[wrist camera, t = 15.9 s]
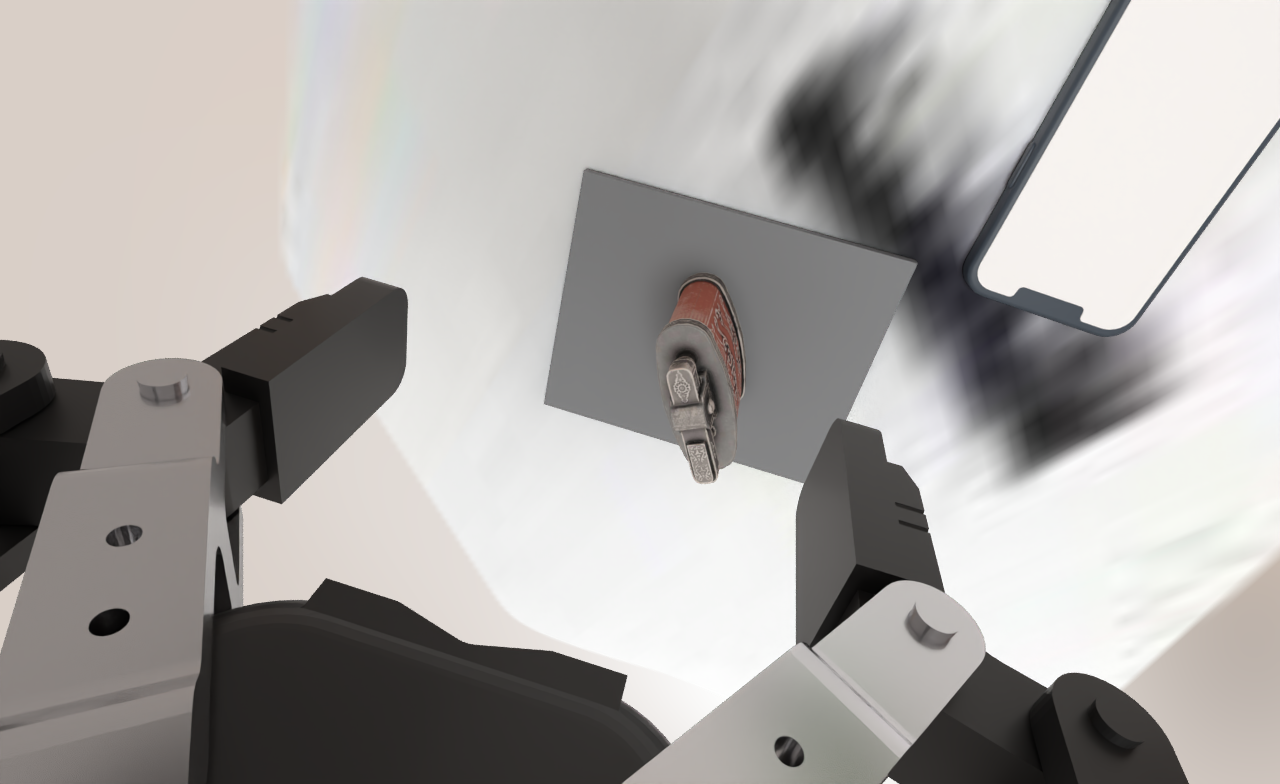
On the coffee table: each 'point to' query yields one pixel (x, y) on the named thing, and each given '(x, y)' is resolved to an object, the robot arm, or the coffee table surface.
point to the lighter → (703, 374)
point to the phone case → (1133, 160)
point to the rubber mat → (764, 301)
